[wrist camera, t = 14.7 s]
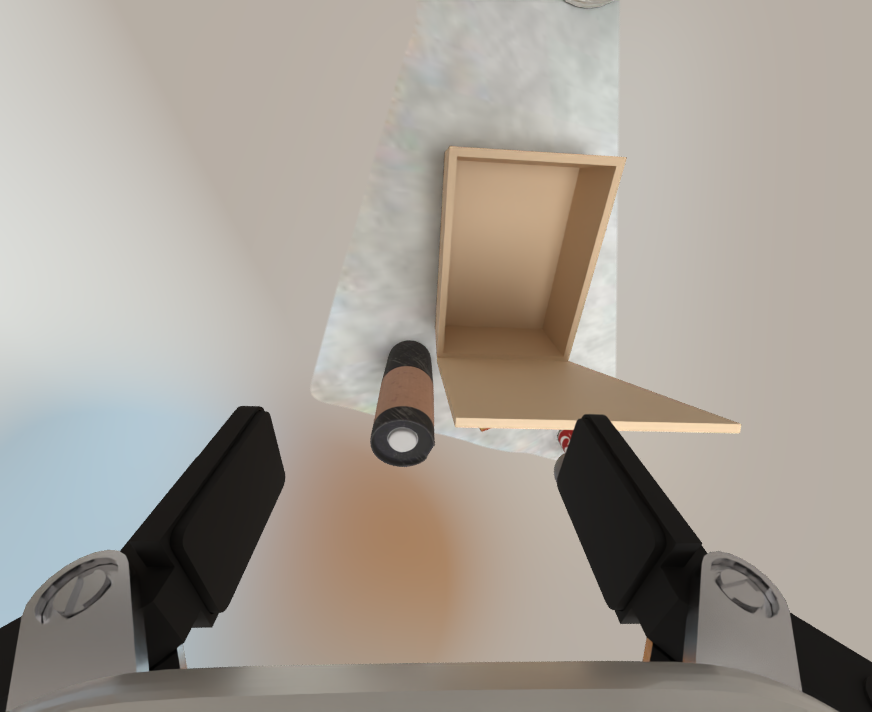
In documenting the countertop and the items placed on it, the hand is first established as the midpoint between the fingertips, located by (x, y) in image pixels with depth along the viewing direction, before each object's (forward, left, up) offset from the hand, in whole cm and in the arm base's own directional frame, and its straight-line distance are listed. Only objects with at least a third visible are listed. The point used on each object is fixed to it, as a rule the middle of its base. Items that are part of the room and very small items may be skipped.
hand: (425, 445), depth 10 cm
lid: (+9, +11, -19) cm, 24 cm away
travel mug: (+20, -2, -40) cm, 45 cm away
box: (+2, +11, -40) cm, 42 cm away
